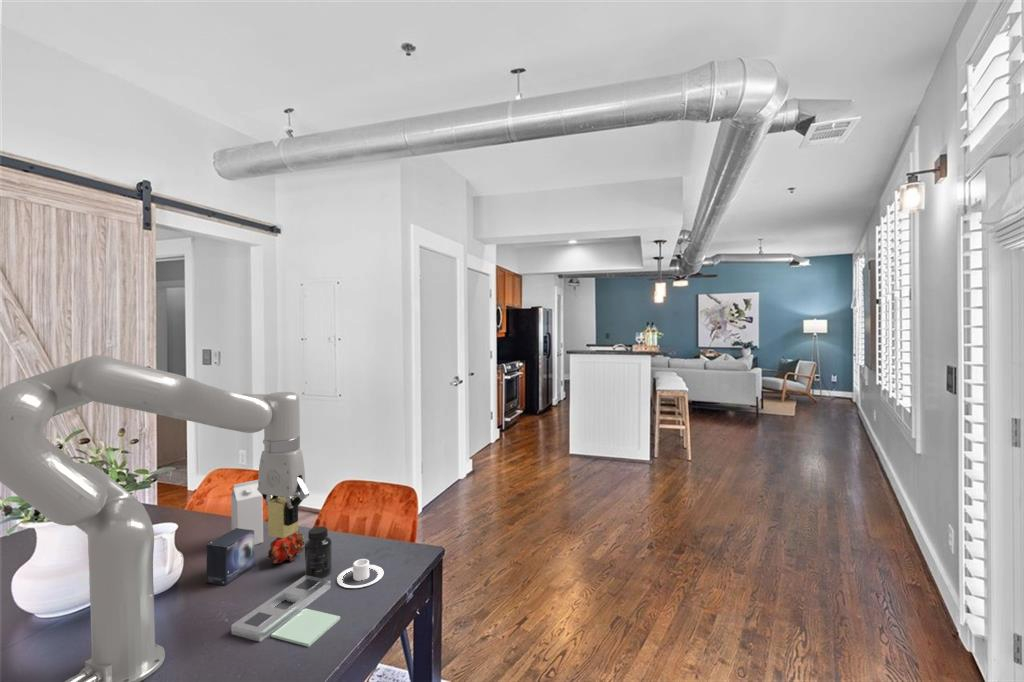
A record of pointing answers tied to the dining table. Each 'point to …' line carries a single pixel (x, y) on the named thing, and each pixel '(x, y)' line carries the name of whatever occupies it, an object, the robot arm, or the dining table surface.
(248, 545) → the small box
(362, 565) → the candle holder
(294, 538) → the dragon fruit
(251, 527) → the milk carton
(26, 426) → the robot arm
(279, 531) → the yellow block
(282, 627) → the pad
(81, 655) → the dining table surface
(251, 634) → the rail
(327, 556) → the supplement bottle
